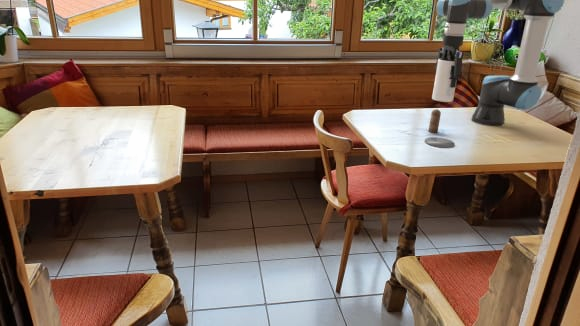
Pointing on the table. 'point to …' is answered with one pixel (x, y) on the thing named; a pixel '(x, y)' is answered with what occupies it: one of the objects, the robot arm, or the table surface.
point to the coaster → (439, 142)
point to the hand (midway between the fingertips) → (443, 92)
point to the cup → (442, 81)
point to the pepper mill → (434, 121)
